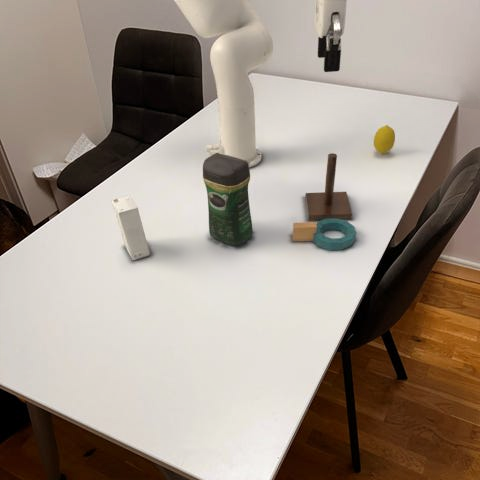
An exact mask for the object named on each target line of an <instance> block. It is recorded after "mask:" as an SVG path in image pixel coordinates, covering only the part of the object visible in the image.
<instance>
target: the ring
mask: <svg viewBox="0 0 480 480" xmlns="http://www.w3.org/2000/svg"><path fill="white" fill-rule="evenodd" d="M333 230H335V231H339V232H341V233H343V234H344V236H342V237H329V236H325V234H323V233H324V232H326V231H327V232H328V231H333ZM356 235H357V232H356V227H355V225H353V224H352V223H350V221H348V220H346V219H344V220H341V219H324V220H318V221H317V222H316V221H308V222H307V221H305V222H304V221H303V222H302V221H301V222H293V223H292V242H313V243H314V244H316V245H317V246H318V247H319V248H321V249H325V250H328V251H342V250H344V249H347V248H350V247H351V246H352V245H353V244H354V242H355V241H356Z"/></svg>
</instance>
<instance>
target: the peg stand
mask: <svg viewBox="0 0 480 480" xmlns="http://www.w3.org/2000/svg"><path fill="white" fill-rule="evenodd" d="M337 161H338V155H337V154H336V153H334V152H333V153H328V154H327V163H326V174H325V185H324V191H321V192H319V191H318V192H305V195H304V198H305V207H306V212H307V220H308V222H312V221H322V220H324V219H341V220H352V218H353V212H352V208H351V203H350V201H349V197H348V193H347V191H335V180H336V171H337Z"/></svg>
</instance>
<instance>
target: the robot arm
mask: <svg viewBox="0 0 480 480" xmlns="http://www.w3.org/2000/svg"><path fill="white" fill-rule="evenodd" d="M173 1H174V3H175V4H176V6H177V8H178V9H179V10H180V11H181V13H182V14H183V16H184V17H185V19H186V20H187V22H188V23H189V24H190V26H191V27H192V29H193V30H194V31H195V33H196V34H197V35H198V36H199V37H201V38H203V39H210V38H215V37H218V36H220V37H218V38H217V39H216V40H215V41H214V43H213V44H212V46H211V49H210V54H209V60H210V64H211V69H212V72H213V76H214V81H215V87H216V94H217V105H218V117H219V129H220V130H219V131H220V139H221V140H220V143H217V144H206V145H205V151H206V153H209V156H211V155H213V154H215V153H219V154H224V155H228V156H232V157H235V158H239V159H242V160H245V161H247V162H248V165H249V169H250V168H252V167H255V166H256V165H258V164H259V163H260V162H261V161H262V158H263V157H262V152H261V150H260V149H258V148H257V142H256V141H257V140H256V139H257V138H256V105H255V104H256V103H255V90H254V87H253V84H252V82H251V79H250V77H249V72H252V71H253V70H255V69H257V68H259V67H261V66H263V65H264V64H266V63H267V62H268V61H269V60H270V59H271V57H272V54H273V50H274V43H273V39H272V35H271V33H270V30H268V28H267V26H266V24H265V22H264V21H263V20H262V18H261V17H260V15H259V14H258V12H257V11H256V9H255V7H254V6H253V4H252V3H251V1H250V0H173ZM346 14H347V0H315V8H314V20H313V21H314V22H313V26H314V30H315V32H316V35H317V36H318V38H317V58H319V59H321V58H322V59H323V72H324V73H333V72H339V71H340V69H341V55H342V39H341V38H342V36H343V35H344V33H345V26H346V16H347V15H346Z"/></svg>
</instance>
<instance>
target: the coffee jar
mask: <svg viewBox="0 0 480 480" xmlns="http://www.w3.org/2000/svg"><path fill="white" fill-rule="evenodd" d="M202 180H203V183H204V185H205V189H206V195H207V207H208V232H209V235H210V237H211V238H212V239H214V240H216V241H218V242H220V243H223V244H226V245H229V246H232V247H233V246H234V247H235V246H238V245H241V244H244V243H246V242H247V241H248V240H249V239H250V238H251V237H252V236H253V231H254V230H253V221H252V215H251V207H250V199H249V183H250V181H251V170H250V168H249V165H248V162H247V161H245V160H242V159H239V158H235V157H232V156H228V155H224V154H219V153H215V154H213V155H209V156H208V157H207V158H205V159H204V161H203V164H202Z"/></svg>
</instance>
